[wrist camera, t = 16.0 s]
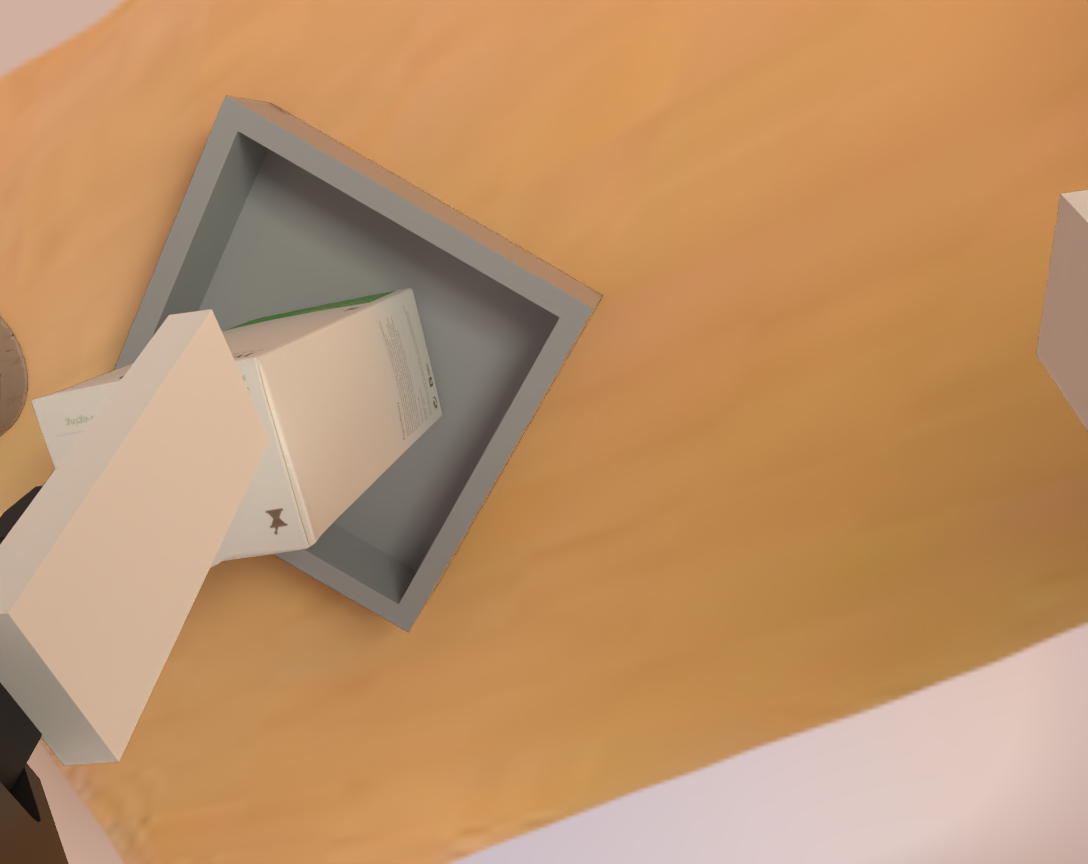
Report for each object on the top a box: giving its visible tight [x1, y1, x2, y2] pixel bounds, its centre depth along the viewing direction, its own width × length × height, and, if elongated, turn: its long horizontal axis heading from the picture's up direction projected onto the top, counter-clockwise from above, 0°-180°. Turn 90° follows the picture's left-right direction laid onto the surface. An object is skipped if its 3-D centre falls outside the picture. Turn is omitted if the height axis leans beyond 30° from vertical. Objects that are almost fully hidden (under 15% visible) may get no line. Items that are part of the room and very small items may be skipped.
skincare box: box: [32, 288, 442, 568], centre depth 37 cm, size 8×7×16 cm
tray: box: [114, 95, 603, 632], centre depth 43 cm, size 17×17×4 cm
